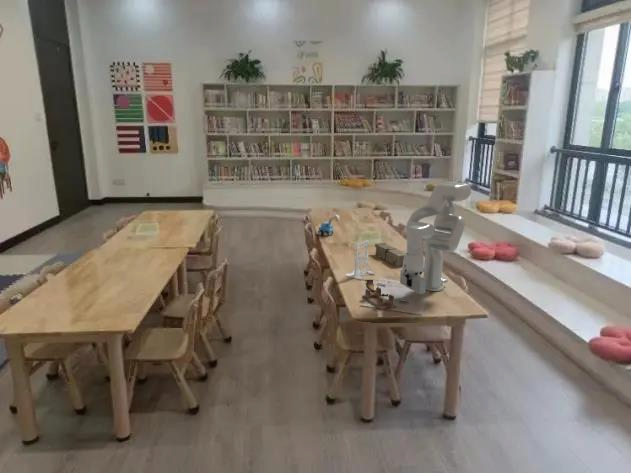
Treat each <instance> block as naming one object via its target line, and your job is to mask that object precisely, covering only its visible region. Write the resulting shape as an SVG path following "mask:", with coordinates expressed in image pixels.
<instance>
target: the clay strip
mask: <svg viewBox="0 0 631 473" xmlns="http://www.w3.org/2000/svg"><path fill="white" fill-rule="evenodd" d="M402 271H403V270H402V269H401V270H400V273H399V274H400V275H399V276H400V277H399V278H400V279H399V283H400V284H401V285H403V287H404V286H405V287H406V288H408V289H410V290H411V291H413V292H414V293H417V294H419V295H420V294H421V295H422V294H425V293H426V290H425V288H426V279H424V278H423V276H421V275H420V276H418V275H416V274H415V273H412V276H411V279H412V285H411V287H409V286H408V285H407V278H406V277H405V276H404V275H402V274H401V273H402ZM406 273H407V271H406Z"/></svg>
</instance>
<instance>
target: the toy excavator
mask: <svg viewBox="0 0 631 473" xmlns="http://www.w3.org/2000/svg"><path fill="white" fill-rule="evenodd" d="M333 221H335V222H338V221H340V215H338V214H335V215H333V216H332V217H330V218H329V219H328V221H325V222H322V223H321V224H320V226H319V227H318V231H317V235H318V236H322V235H323V236H324V237H325V238H327V237H328V236H331V235H333V234H334V230H335V228H334V227H333Z"/></svg>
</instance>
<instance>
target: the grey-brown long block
mask: <svg viewBox="0 0 631 473" xmlns="http://www.w3.org/2000/svg"><path fill="white" fill-rule="evenodd" d="M374 247H375V255H376V256H377V257H379V258H380V259H383V260H384V259H385V261H386V262H389V263H390V264H392V265H394V266H396V267H397V268H400V267H401V268H402V267H403V260H404V255H405V253H406V252H405V251H402V250H400V249H397V247H394V246H393V245H390V244H388V243H387V242H377V243H374Z"/></svg>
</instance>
